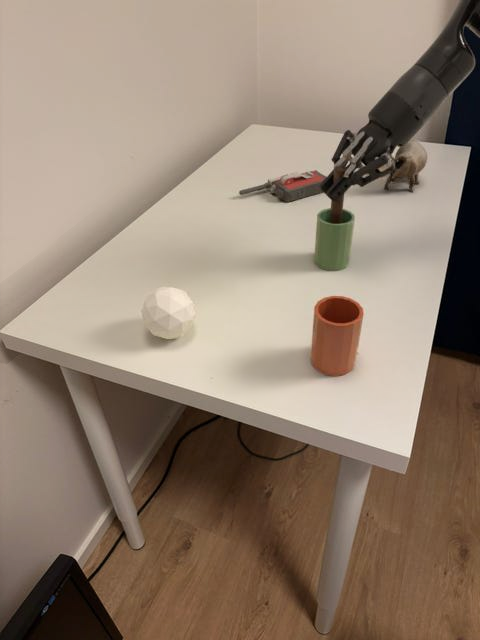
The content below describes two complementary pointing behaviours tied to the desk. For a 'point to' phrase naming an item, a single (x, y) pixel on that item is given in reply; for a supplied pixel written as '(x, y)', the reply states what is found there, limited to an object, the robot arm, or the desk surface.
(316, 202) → the desk surface
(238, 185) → the desk surface
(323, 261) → the green cup
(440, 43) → the robot arm
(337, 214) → the muddler
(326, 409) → the desk surface
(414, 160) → the rhinoceros figurine
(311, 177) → the walkie-talkie
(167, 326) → the geometric ball
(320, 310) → the terracotta cup
